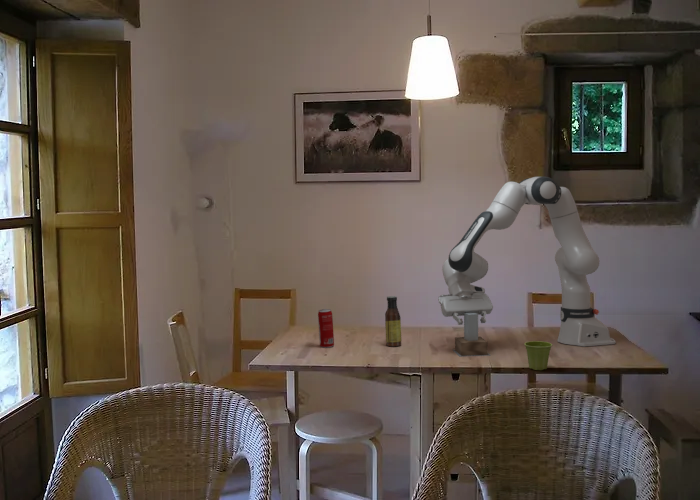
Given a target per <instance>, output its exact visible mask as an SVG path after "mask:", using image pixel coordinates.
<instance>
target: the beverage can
mask: <svg viewBox="0 0 700 500" xmlns="http://www.w3.org/2000/svg"><path fill="white" fill-rule="evenodd" d="M317 319H318V320H317V321H318V336H319V337H318V338H319V346H320V348H322V349H324V348H325V349H328V348H332V347H334V346H335V338H334V337H335V335H334V320H333V312H332V309H330V308H323V309H318V313H317Z"/></svg>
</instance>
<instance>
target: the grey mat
mask: <svg viewBox="0 0 700 500" xmlns="http://www.w3.org/2000/svg"><path fill="white" fill-rule="evenodd" d="M452 351H453V353H455V354H456V355H457V356H458V357H463V358H464V357H465V358H466V356H461V355H460V354H459V353H458V352H457V351H456V350H455V349H452ZM485 356H487V357H490V356H492V355H491V354H490V353H488V355H472V356H471V357H485Z"/></svg>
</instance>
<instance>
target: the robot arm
mask: <svg viewBox="0 0 700 500" xmlns="http://www.w3.org/2000/svg"><path fill="white" fill-rule="evenodd" d="M524 205H533V206H534V205H535V206H538V205H544V206H545V208H546V209H547V211H548V215H549V219H550V222H551V227H552V230H553V233H554V236H555V239H556V240H557V241H558V243H559V244H560V248H559V249H557V251H555V254H554V261H555V263H556V266H557V268H558V275H559V278H560V284H561V306H560V314H559V317H560V327H559V333H558V337H557V340H556V341H557V342H558V343H561V344H565V345H571V346H578V347H593V346H595V347H596V346H605V345H607V346H608V345H615V344H616V340H615V339H614V338H613V337H610V335H611V334H610V329H609V328H608V326H607V325H606V324H604V322H602V321H600V320H599V319H598V318H597V317H595V316H598V315H599V309H596V308H595V309H594V308H593V307H591V286H590V285H589V282H588V278H587V275H590V274H591V275H592V274H593V273H594V272H596V271H597V270H598V269H599V266H600V258H599V255H598V254H597V252H596V251H595V250H594V248H593V247H592V245H591V242H590V241H589V238H588V237H587V235H586V233H585V230H584V227H583V225H582V221H581V218H580V213H579V211H578V208H577V204H576V201H575V200H574V197H573V194H572V193H571V191H570V189H569V188H568V187H565V186H559V185H558V183H557V182H556V181H555V180H554V179H553V178H551V177H549V176H533V177H528V178H524V179H523V180H521V181H520V182H516V181H507V182H505V184H503V186H502V187H501V188H500V189H499V190H498V192H497V194H496V195H495V196H494V198H493V200H492V201H491V204H490V205H489V206H488V208H486V210H485V211H483V212H480V213H479V215H478V216H477V217H476V218H475V220H474V221H473V222H472V223H471V225H470V226H469V228H468V229H467V231H466V232H465V234H464V235H463V237H462V238H461V239H460V240H459V242H458V243H457V244H456V245H455V246H454V247H453V248H451V250H450V252H449V255H448V258H447V259H446V260H445V261H444V262H443V264H442V269H441V271H442V276H443V278H444V281H445V285H447V287H448V288H447V289H448V293H449V294H441V295H440V296H438V298H437V299H438V303H439V304H440V310H441V314H442V316H444V317H445V318H447V317H452V318H453V320H454V321H456V323H457V325H459V326H461V325H464V320H463V319H462V318H460V317H461V316H462V317H464V313H473V312H474V313H477V314H478V316H479V315H480V316H481V317H480V319H479V320H480V323H481V324H486V323H487V319H486V317H487V316H486V315H490V314H491V313H492V311H493V309H494V305H493V303H492V301H491V299H490V297H489V295H488V294H486V293H485V292H486V290H485V288H484V287H482V286H477V285H473V283H475V282H478V281H479V280H482V278H484V277H485V276H486V275H487V273H488V271H489V263H488V261H487V260H486V259H485V258H483V256H481V255H480V254H478V253H476V252H475V248H476V246H477V245H478V243H479V242H480V241H481V239H482V237H483V236H484V234H486V232H488V231H490V230H505V229H508V228H510V227H511V226H512V225H513V224H514V222H515V221H516V219H517V216H518V215H519V213H520V210H521V208H523V206H524Z"/></svg>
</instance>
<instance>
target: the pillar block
mask: <svg viewBox="0 0 700 500" xmlns="http://www.w3.org/2000/svg"><path fill="white" fill-rule="evenodd" d="M463 337H464V339H465V340H468V341H474V340H478V337H479V315H478V314H477V313H474V312H473V313H464V316H463Z"/></svg>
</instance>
